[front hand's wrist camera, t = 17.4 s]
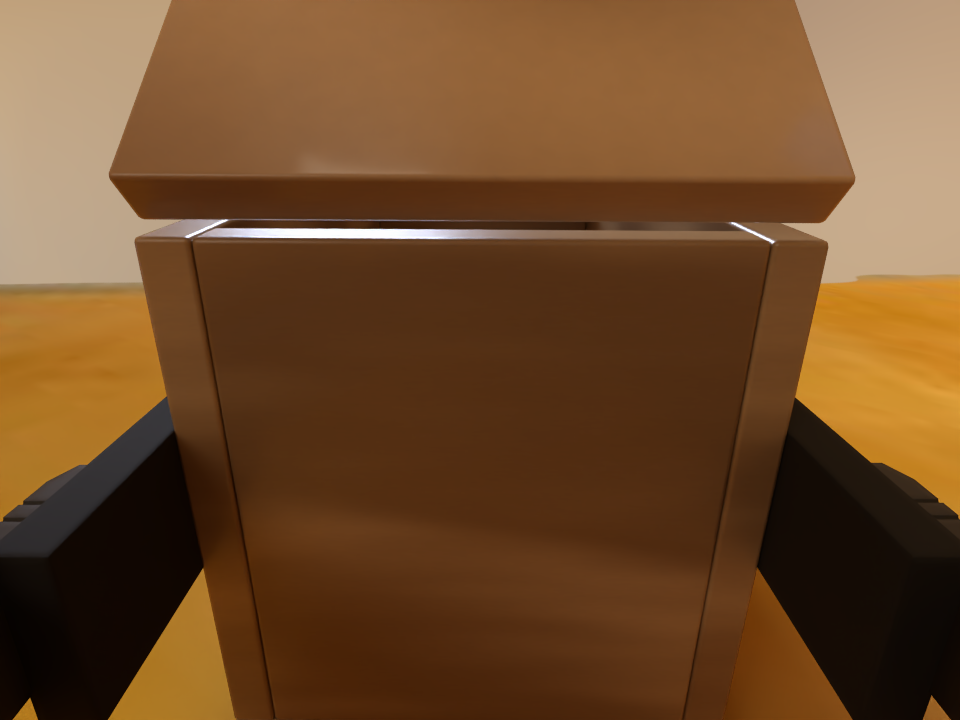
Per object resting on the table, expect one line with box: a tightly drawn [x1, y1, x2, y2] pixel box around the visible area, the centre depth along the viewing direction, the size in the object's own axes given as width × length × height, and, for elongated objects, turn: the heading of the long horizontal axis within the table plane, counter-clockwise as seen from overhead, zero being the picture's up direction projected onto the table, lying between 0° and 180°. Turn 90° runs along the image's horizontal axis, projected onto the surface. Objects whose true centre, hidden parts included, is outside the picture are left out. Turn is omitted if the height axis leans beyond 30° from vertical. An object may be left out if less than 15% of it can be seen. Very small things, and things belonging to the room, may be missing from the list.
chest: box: [135, 219, 828, 720], centre depth 18 cm, size 16×10×10 cm, turn 0°
